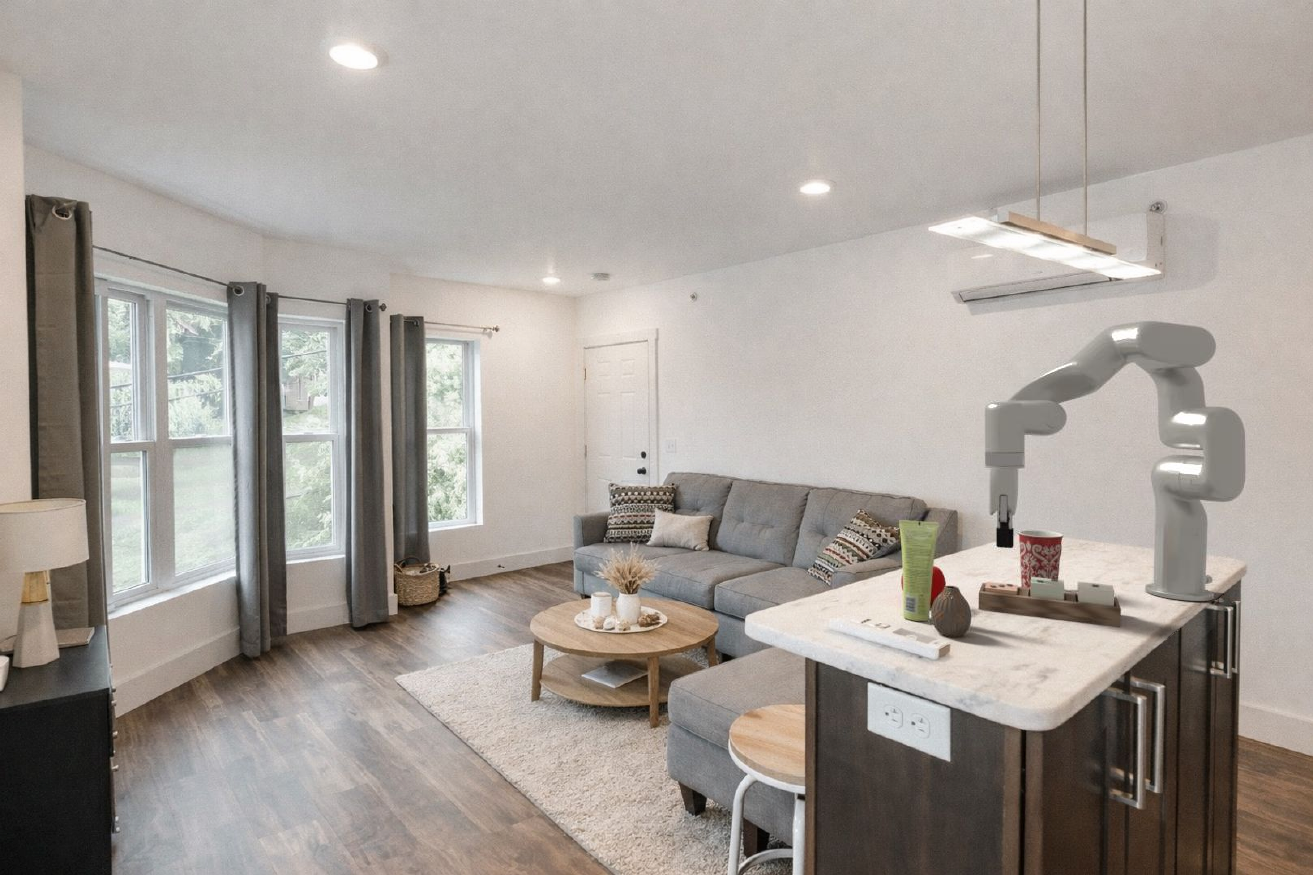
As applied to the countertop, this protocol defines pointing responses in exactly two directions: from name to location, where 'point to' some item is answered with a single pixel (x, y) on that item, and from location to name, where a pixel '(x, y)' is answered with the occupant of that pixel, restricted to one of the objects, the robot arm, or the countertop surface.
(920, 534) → the tube
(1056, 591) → the tile two
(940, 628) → the vase
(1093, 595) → the tile one
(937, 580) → the fruit
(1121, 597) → the countertop surface
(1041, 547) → the mug
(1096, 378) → the robot arm
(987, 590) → the tile three
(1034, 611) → the wooden compartment tray
